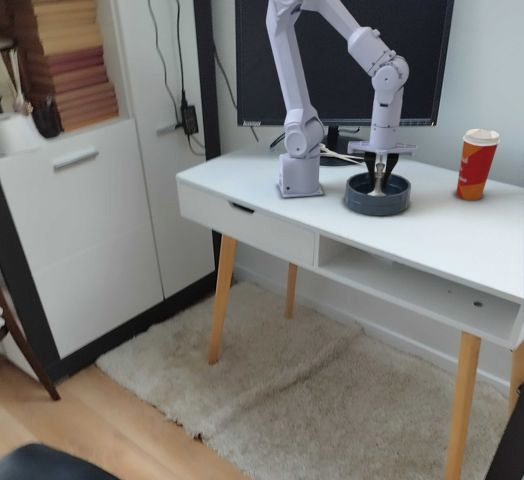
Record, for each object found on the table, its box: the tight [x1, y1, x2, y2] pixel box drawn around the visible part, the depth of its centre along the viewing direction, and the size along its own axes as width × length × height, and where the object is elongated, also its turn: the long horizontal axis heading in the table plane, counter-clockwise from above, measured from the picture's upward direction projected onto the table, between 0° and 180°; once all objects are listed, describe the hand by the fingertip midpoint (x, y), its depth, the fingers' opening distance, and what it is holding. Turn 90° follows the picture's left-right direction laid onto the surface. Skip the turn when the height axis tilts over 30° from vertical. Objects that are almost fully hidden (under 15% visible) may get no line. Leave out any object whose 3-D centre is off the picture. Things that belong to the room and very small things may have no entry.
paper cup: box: [456, 128, 501, 201], centre depth 122 cm, size 8×8×14 cm
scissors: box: [319, 143, 364, 165], centre depth 147 cm, size 11×1×20 cm
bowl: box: [344, 171, 412, 216], centre depth 123 cm, size 14×14×4 cm
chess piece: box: [367, 154, 387, 196], centre depth 121 cm, size 5×5×10 cm
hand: (377, 186), depth 122 cm, fingers closed on chess piece
